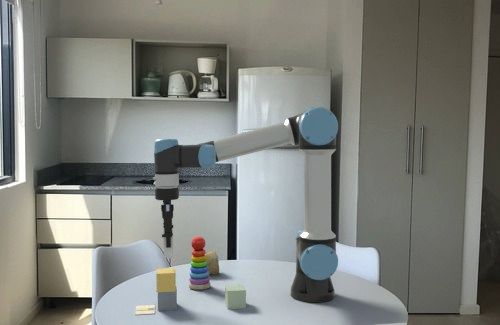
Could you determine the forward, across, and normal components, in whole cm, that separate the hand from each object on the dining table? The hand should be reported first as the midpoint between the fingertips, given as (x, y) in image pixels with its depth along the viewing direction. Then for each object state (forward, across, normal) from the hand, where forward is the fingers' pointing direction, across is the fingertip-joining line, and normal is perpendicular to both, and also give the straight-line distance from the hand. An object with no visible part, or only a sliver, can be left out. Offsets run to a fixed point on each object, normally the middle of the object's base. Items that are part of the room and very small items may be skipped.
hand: (168, 252), depth 170 cm
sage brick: (+18, +2, +21) cm, 28 cm away
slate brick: (+18, 0, -1) cm, 18 cm away
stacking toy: (+18, -20, +11) cm, 29 cm away
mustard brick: (+12, 0, -1) cm, 12 cm away
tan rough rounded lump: (+18, -37, +16) cm, 44 cm away
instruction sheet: (+18, +2, -8) cm, 19 cm away
